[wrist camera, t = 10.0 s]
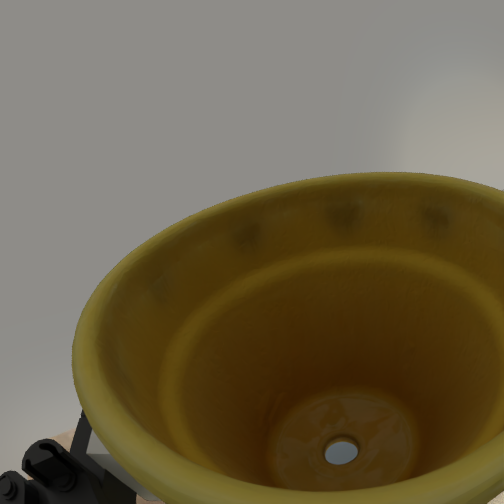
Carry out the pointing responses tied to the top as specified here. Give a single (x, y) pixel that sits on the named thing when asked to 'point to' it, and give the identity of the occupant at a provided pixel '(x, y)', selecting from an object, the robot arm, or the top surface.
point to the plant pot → (308, 346)
